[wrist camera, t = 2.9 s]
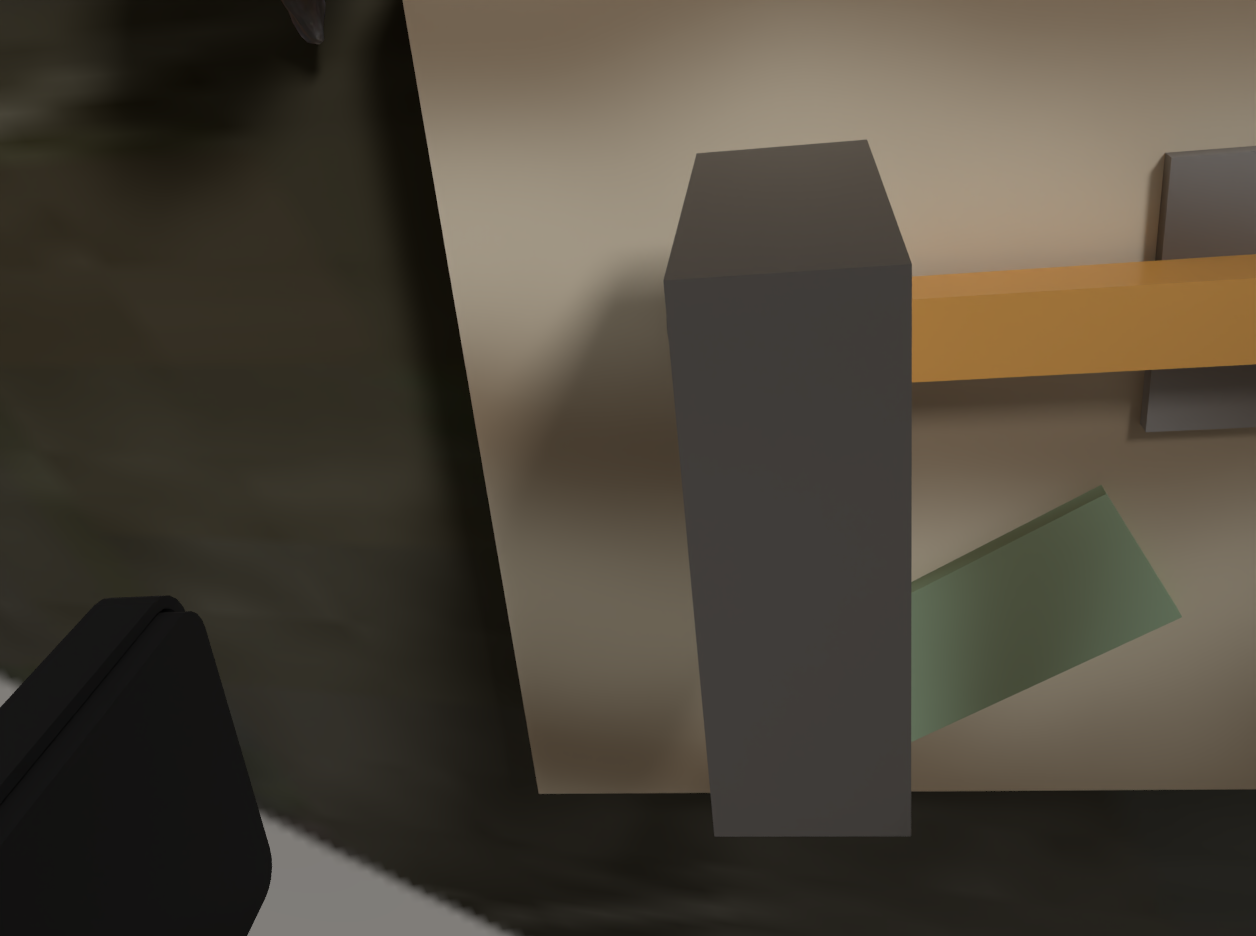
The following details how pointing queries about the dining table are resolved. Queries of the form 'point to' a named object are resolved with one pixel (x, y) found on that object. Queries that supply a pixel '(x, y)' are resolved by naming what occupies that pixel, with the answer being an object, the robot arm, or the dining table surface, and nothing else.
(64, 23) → the dining table surface
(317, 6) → the lion figurine
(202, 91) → the dining table surface
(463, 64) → the dial board
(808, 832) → the latch
